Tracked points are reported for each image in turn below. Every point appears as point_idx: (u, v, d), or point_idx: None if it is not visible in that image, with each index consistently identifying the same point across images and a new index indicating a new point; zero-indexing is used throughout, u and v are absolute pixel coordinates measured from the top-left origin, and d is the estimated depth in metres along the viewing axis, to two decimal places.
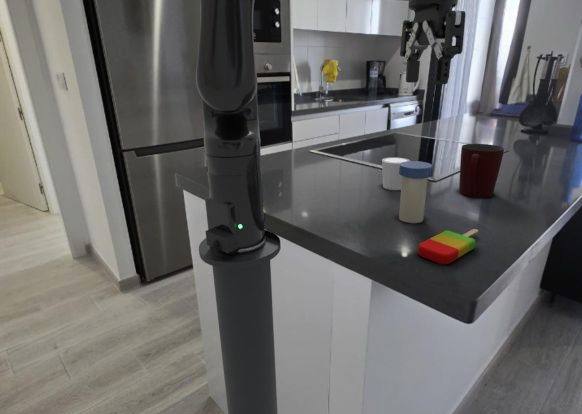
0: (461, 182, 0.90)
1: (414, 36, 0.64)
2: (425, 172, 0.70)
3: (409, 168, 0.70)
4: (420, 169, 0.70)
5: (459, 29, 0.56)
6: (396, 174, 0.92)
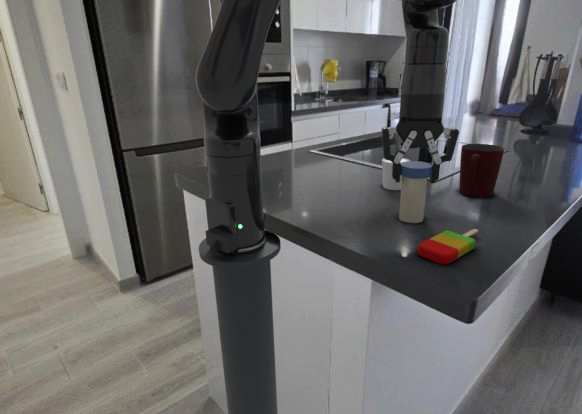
0: (461, 182, 0.90)
1: (409, 141, 0.70)
2: (425, 172, 0.70)
3: (409, 168, 0.70)
4: (420, 169, 0.70)
5: None
6: None
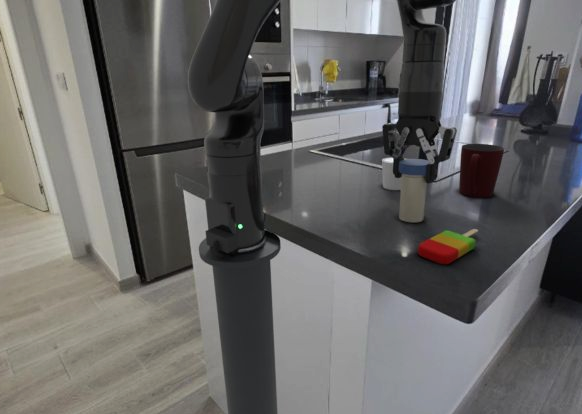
0: (461, 182, 0.90)
1: None
2: None
3: None
4: None
5: None
6: None
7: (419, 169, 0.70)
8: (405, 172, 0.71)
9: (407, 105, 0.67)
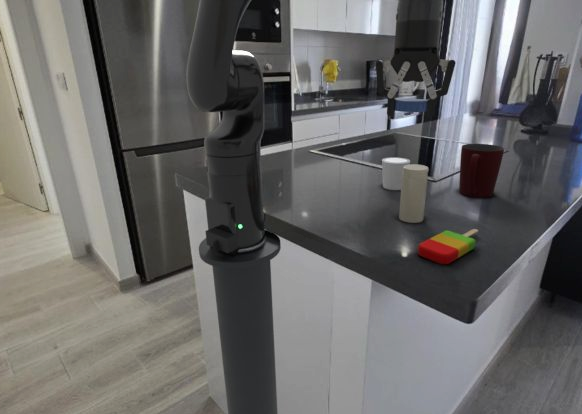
0: (461, 182, 0.90)
1: None
2: None
3: None
4: None
5: (377, 76, 0.71)
6: (396, 174, 0.92)
7: (422, 105, 0.68)
8: (408, 110, 0.68)
9: (413, 35, 0.63)
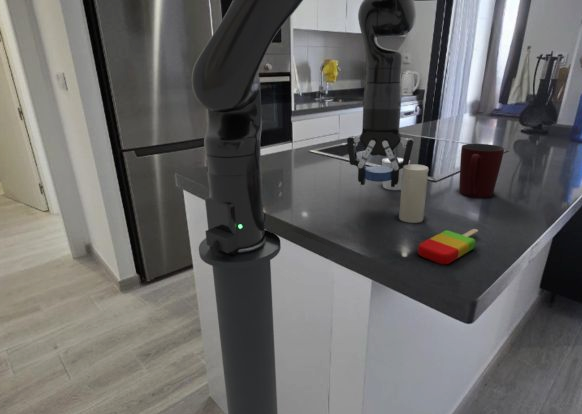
0: (461, 182, 0.90)
1: None
2: None
3: None
4: None
5: None
6: None
7: (386, 175, 0.80)
8: (374, 179, 0.80)
9: (376, 121, 0.75)
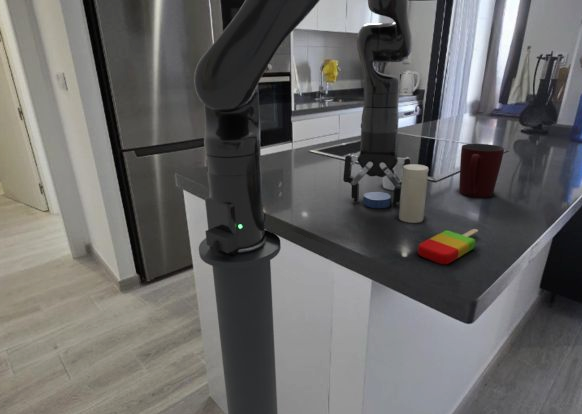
0: (461, 182, 0.90)
1: None
2: None
3: None
4: None
5: (345, 166, 0.84)
6: None
7: (384, 202, 0.82)
8: (373, 206, 0.82)
9: (374, 144, 0.77)
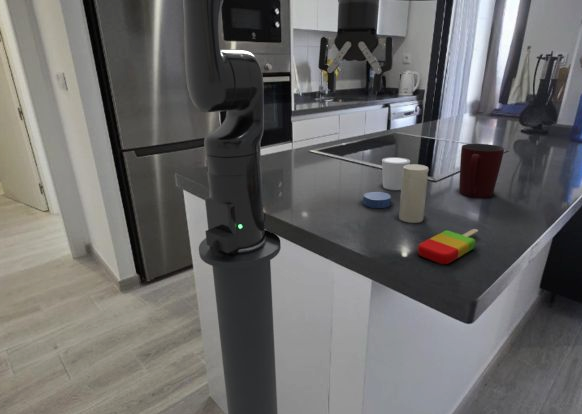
0: (461, 182, 0.90)
1: None
2: None
3: None
4: None
5: None
6: (396, 174, 0.92)
7: (384, 202, 0.82)
8: (373, 206, 0.82)
9: (352, 16, 0.69)
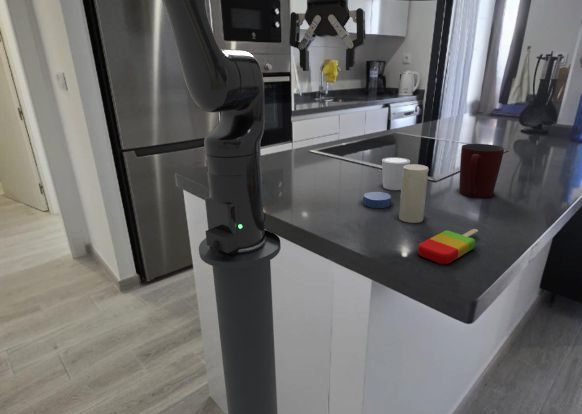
0: (461, 182, 0.90)
1: None
2: None
3: None
4: None
5: None
6: (396, 174, 0.92)
7: (384, 202, 0.82)
8: (373, 206, 0.82)
9: None
